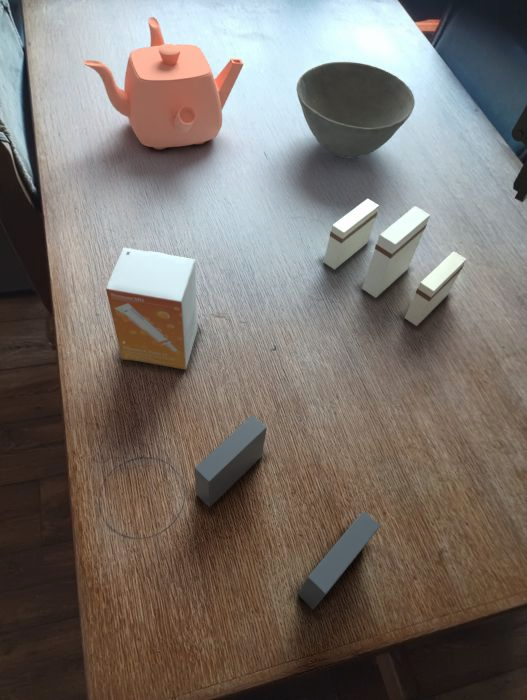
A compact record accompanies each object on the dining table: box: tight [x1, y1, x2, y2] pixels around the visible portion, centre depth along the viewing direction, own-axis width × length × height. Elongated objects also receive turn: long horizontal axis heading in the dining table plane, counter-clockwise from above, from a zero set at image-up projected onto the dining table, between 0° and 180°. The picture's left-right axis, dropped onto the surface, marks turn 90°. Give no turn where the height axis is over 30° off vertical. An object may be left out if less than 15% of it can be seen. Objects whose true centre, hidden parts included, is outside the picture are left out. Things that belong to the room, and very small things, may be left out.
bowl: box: [296, 61, 416, 159], centre depth 90 cm, size 19×19×10 cm
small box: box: [105, 247, 198, 370], centre depth 62 cm, size 8×6×13 cm
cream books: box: [323, 198, 467, 327], centre depth 74 cm, size 16×8×7 cm, turn 47°
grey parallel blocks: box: [194, 414, 381, 610], centre depth 53 cm, size 16×8×7 cm, turn 47°
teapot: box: [82, 16, 244, 150], centre depth 87 cm, size 18×18×14 cm
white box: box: [361, 205, 431, 299], centre depth 72 cm, size 2×8×10 cm, turn 137°
